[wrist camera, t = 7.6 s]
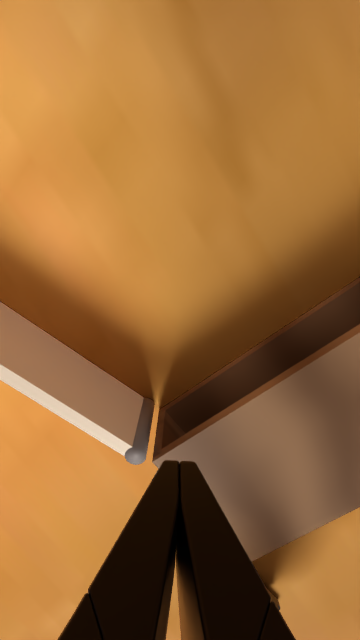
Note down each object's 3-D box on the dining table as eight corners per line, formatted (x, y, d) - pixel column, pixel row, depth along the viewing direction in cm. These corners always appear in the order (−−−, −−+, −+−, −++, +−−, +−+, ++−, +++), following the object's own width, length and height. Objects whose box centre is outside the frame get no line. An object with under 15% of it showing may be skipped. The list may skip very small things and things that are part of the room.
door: (157, 403, 21) (150, 454, 16) (141, 422, 21) (130, 476, 16) (-61, 257, 18) (-151, 265, 13) (-74, 282, 18) (-166, 298, 13)
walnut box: (234, 494, 23) (248, 563, 18) (159, 410, 21) (152, 461, 16) (447, 375, 20) (532, 420, 15) (384, 260, 18) (460, 269, 13)
